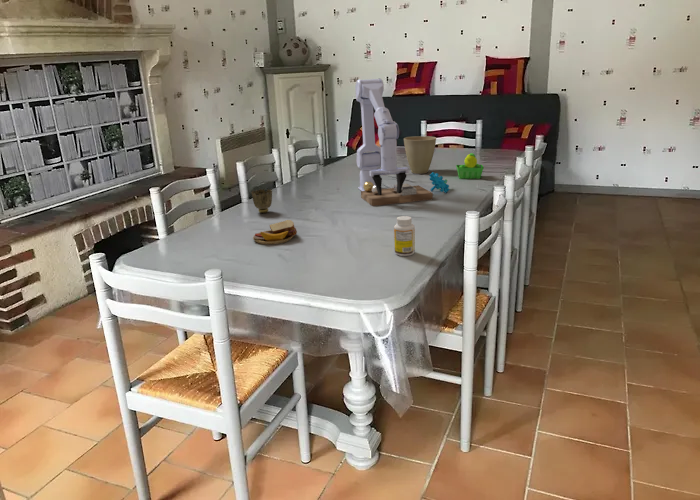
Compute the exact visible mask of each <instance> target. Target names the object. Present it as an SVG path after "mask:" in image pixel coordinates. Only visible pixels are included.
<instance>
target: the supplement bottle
mask: <svg viewBox="0 0 700 500" xmlns="http://www.w3.org/2000/svg"><path fill="white" fill-rule="evenodd" d="M412 222H413V221H412V217H411V216H407V215H402V216H398V217H396V224H395V225H394V226H393V234H394V235H393V238H394V239H393V240H394V241H393V242H394V253H395V255H397V256H401V257H410V256H412V255H414V254H415V251H416V249H415V243H416V242H415V239H416V238H415V232H416V231H415V230H416V229H415V224H414V223H412Z"/></svg>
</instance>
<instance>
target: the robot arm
mask: <svg viewBox="0 0 700 500" xmlns="http://www.w3.org/2000/svg"><path fill="white" fill-rule="evenodd" d="M384 86H385V84H384V81H383V79H382V78H369V79H368V78H367V79H357V80H356V82H355V99H356V102H357V103H358V102H359V103H360V110H361V111H360V113H361V114H360V116H361V126H362V127H361V131H362V145H360V147H358V148H357V150H356V157H355V158H356V166H357V168H358V169H360V171H359V186H358V187H357V189H358V190H360V192H361V191H365V190H364V188H363V185H364V183H365V182H368V181H369V182H372V183H373V185H376V187H377V190H378V194H379V195H382V189H383V188H382V182H383V178H382V177H381V176H387V175H395V176H396V185H397V192H398V193H401V189H402V185H403V184H405V180H406V179H407V176H408V175H407V174H409V171H410V167H407V166H405V167H404V166H403V167H398V159H397V158H398V157H397V154H398V153H397V147H398V146H397V144H398V143H397V140H398V139H399V136H400V128H399V124H398V123H397V122H396V121H395V120H394V121H393V117H392V116H391V113H390V109H388V108H387V107H385V103H384V99H383V94H384V93H383V92H384V91H385V89H384V88H385V87H384ZM374 111H375V112H374ZM374 119H375V120H374ZM375 123H376V125H377V127H378V129H377V136H378V142H379V145H380V146H378V145H377V144H376V135H375Z"/></svg>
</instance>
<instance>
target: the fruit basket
mask: <svg viewBox="0 0 700 500" xmlns="http://www.w3.org/2000/svg"><path fill="white" fill-rule="evenodd" d="M463 162H464V164H456V165H455V167H456V171H457V175H458V178H459V180H464V179H465V180H467V179H469V180H474V179H475V178H476V180H477V179H481V178H482V173H483V170H484V169H485V168H484V165H482V164H479V163H478V159H477V158H476V155H475V153H473V152H471V153H469V154H467V155H466V157H465V158H464V161H463Z"/></svg>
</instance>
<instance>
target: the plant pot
mask: <svg viewBox="0 0 700 500" xmlns="http://www.w3.org/2000/svg"><path fill="white" fill-rule="evenodd" d="M436 142H437V137H435V136H429V135H428V136H427V135H421V136H406V137H404V138H403V144H404V150H405V155H406V159H407V163H408V166H409V170H410V171H411V173H412V174H416V175H420V174H421V175H422V174H427V173H428V172H429V169H430V167H431V163H432V161H433V158H434V153H435V148H436Z"/></svg>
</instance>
